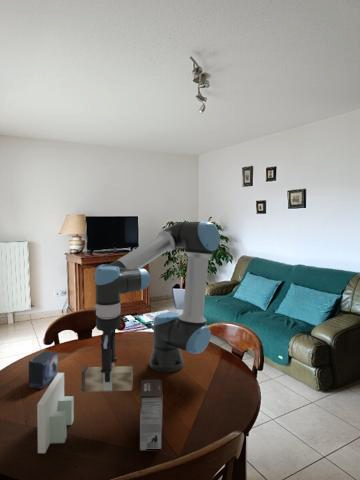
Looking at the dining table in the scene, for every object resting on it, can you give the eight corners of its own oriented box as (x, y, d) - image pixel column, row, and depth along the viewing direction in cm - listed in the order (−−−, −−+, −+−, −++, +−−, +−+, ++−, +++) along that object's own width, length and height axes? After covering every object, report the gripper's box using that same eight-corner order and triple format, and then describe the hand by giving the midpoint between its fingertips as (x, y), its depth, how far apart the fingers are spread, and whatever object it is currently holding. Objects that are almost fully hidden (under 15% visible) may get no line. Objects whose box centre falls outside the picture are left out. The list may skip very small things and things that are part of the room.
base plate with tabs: (76, 412, 105) (76, 372, 104) (60, 452, 87) (59, 403, 87) (58, 413, 105) (57, 372, 104) (37, 453, 87) (37, 404, 86)
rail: (132, 383, 104) (132, 364, 104) (131, 390, 100) (131, 371, 100) (84, 384, 103) (84, 365, 103) (81, 391, 99) (81, 372, 99)
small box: (42, 390, 119) (42, 363, 118) (27, 388, 120) (27, 361, 120) (59, 376, 130) (58, 351, 129) (44, 374, 131) (44, 350, 130)
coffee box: (140, 429, 97) (140, 379, 96) (161, 428, 98) (161, 378, 97) (139, 451, 88) (139, 395, 87) (162, 450, 89) (162, 394, 88)
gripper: (100, 307, 108) (102, 373, 110) (90, 324, 91) (91, 402, 93) (123, 307, 109) (123, 372, 111) (116, 324, 92) (117, 401, 94)
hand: (109, 386), depth 102 cm, fingers closed on rail, 4 cm apart
